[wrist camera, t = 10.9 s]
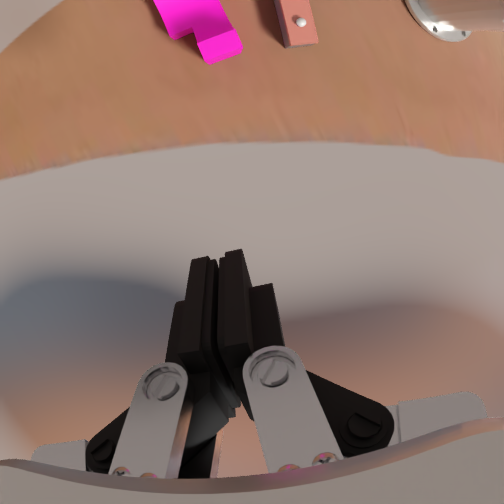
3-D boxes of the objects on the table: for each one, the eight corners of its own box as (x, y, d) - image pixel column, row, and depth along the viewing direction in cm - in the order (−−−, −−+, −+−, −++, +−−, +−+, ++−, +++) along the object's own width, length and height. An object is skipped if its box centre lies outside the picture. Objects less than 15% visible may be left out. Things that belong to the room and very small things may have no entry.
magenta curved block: (146, -24, 23) (128, -43, 17) (195, -45, 23) (188, -68, 16) (189, 73, 31) (179, 72, 25) (240, 53, 30) (243, 47, 24)
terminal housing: (294, -20, 25) (302, -31, 21) (310, 45, 30) (320, 42, 26) (269, -17, 25) (274, -28, 21) (285, 48, 30) (292, 44, 26)
